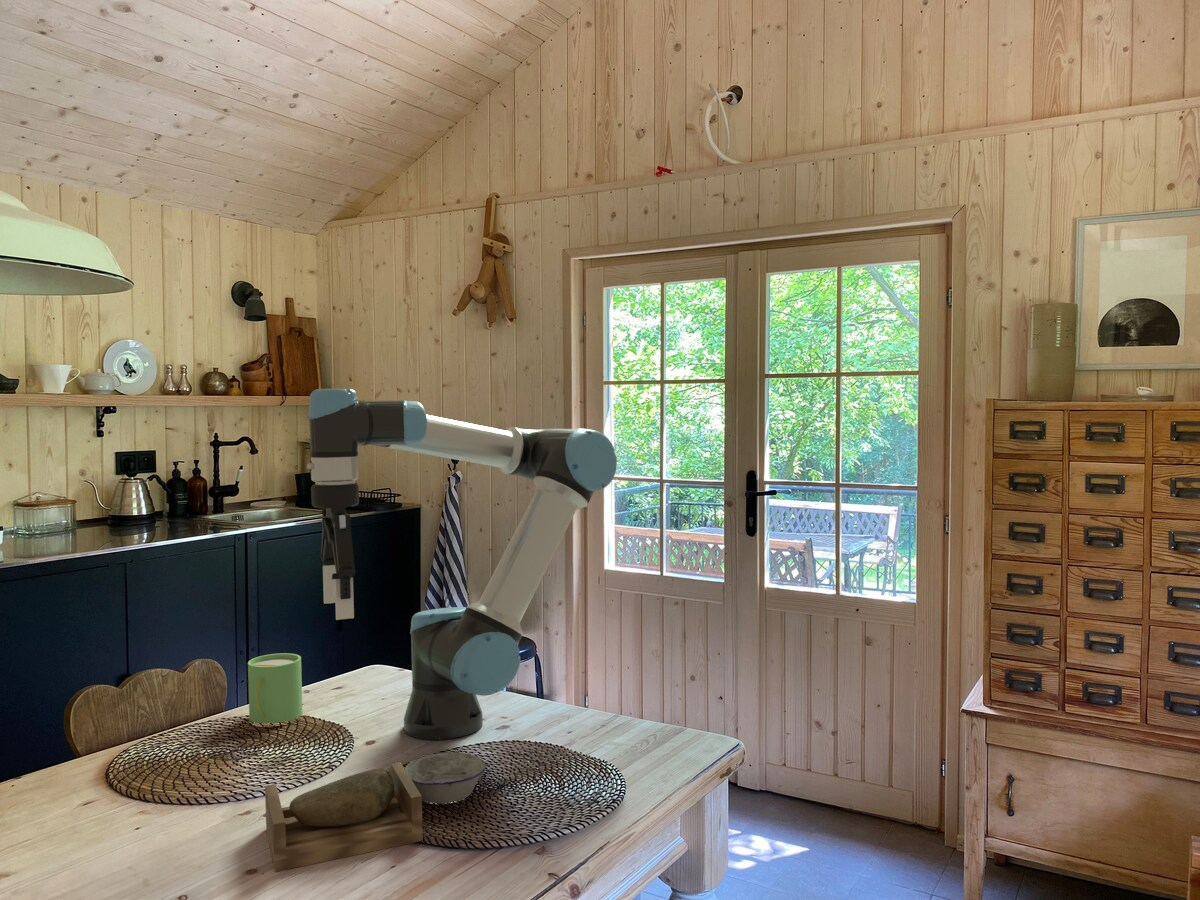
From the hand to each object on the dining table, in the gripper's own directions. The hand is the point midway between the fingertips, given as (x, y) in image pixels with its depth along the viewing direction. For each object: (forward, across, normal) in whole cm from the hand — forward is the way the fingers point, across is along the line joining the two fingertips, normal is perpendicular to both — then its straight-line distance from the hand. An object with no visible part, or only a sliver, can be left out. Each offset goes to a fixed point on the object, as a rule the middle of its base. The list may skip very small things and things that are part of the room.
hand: (338, 610), depth 149 cm
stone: (+27, +20, -3) cm, 33 cm away
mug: (+29, -37, -8) cm, 48 cm away
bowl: (+29, +13, +14) cm, 35 cm away
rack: (+29, +20, -3) cm, 35 cm away
